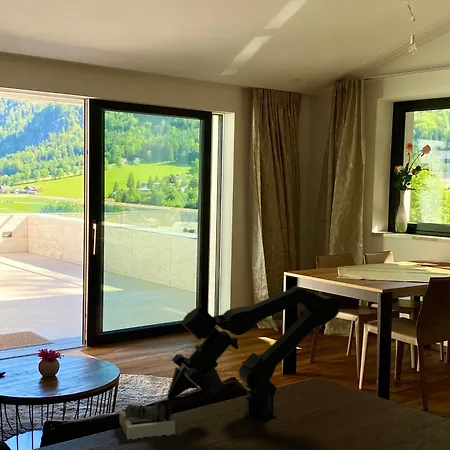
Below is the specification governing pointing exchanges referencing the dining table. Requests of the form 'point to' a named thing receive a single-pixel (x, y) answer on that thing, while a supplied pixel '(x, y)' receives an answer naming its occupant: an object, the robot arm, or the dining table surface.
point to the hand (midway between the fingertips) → (168, 398)
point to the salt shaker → (150, 412)
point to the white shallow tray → (145, 427)
